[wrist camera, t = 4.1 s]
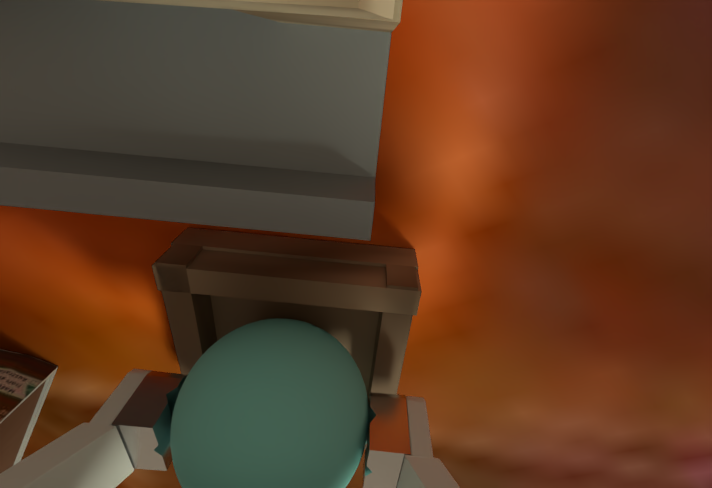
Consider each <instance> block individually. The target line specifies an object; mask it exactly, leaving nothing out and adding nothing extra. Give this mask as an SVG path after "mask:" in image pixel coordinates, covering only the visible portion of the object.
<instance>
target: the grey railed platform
mask: <svg viewBox="0 0 712 488" xmlns="http://www.w3.org/2000/svg"><path fill="white" fill-rule="evenodd" d="M390 41H391V32H380V31H369V30H358V29H347V28H336V27H325V26H314V25H303V24H292V23H281V22H277V21H273V20H269V19H265V18H262V17H258V16H254V15H250V14H247V13H243V12H239V11H235V10H231V9H220V8H205V7H190V6H175V5H160V4H145V3H130V2H115V1H100V0H0V205H3V206H14V207H24V208H35V209H45V210H56V211H66V212H77V213H87V214H97V215H108V216H118V217H129V218H139V219H150V220H160V221H171V222H181V223H191V224H202V225H212V226H223V227H233V228H244V229H254V230H264V231H275V232H285V233H296V234H306V235H317V236H327V237H338V238H348V239H358V240H369V241H371V232H372V224H373V215H374V206H375V176H376V167H377V158H378V149H379V140H380V131H381V122H382V113H383V104H384V95H385V86H386V77H387V68H388V59H389V50H390Z"/></svg>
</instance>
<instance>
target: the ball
mask: <svg viewBox="0 0 712 488" xmlns="http://www.w3.org/2000/svg"><path fill="white" fill-rule="evenodd" d="M368 423H369V404H368V397H367V392H366V387H365V384H364V381H363V378H362V375H361V373H360V370H359V368H358V366H357V364H356V363H355V361H354V359H353V358H352V356H351V355H350V353H349V352H348V351H347V349H346V348H345V347H344V346H343V345H342V344H341V343H340V342H339V341H338V340H337V339H336V338H334V337H333V336H332V335H331V334H329V333H328V332H326V331H324V330H323V329H321V328H319V327H317V326H315V325H312V324H310V323H307V322H303V321H299V320H294V319H283V318H274V319H265V320H260V321H256V322H253V323H249V324H246V325H244V326H241V327H239V328H237V329H235V330H233V331H231V332H230V333H228V334H226V335H225V336H223V337H222V338H221V339H219V340H218V341H217V342H215V343H214V344H213V345H212V346H211V347H210V348H208V349H207V351H206V352H205V353H204V354H203V355H202V356H201V357H200V358H199V359H198V361H197V362H196V363H195V365H194V366H193V367H192V369H191V370H190V372H189V373H188V375H187V377H186V379H185V381H184V383H183V385H182V387H181V389H180V391H179V394H178V397H177V400H176V403H175V406H174V410H173V415H172V421H171V433H170V447H171V454H172V460H173V465H174V468H175V472H176V475H177V478H178V480H179V482H180V484H181V486H182V488H345V487H346V486H347V485H348V483H349V482H350V480H351V478H352V476H353V475H354V473H355V471H356V469H357V467H358V465H359V462H360V460H361V457H362V455H363V451H364V448H365V444H366V439H367V435H368Z"/></svg>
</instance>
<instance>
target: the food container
mask: <svg viewBox="0 0 712 488" xmlns="http://www.w3.org/2000/svg"><path fill="white" fill-rule="evenodd" d="M57 368H58V366H56V365H53V364H51V363H48V362H45V361H43V360H40V359H37V358H35V357H32V356H30V355H26V354H21V353H16V352H12V351H7V350H2V349H0V473H2V472H4V471H5V470H7V469H9V468H10V467H12V466H14V465H15V464H17V463H18V462H20V461H21V458H22V456H23V453H24V451H25V448H26V446H27V443H28V441H29V438H30V436H31V433H32V431H33V428H34V426H35V423H36V421H37V418H38V416H39V413H40V411H41V408H42V406H43V403H44V401H45V398H46V396H47V393H48V391H49V388H50V386H51V383H52V381H53V378H54V376H55V373H56V371H57Z"/></svg>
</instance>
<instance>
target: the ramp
mask: <svg viewBox="0 0 712 488" xmlns="http://www.w3.org/2000/svg"><path fill="white" fill-rule="evenodd" d="M100 1H115V2H130V3H145V4H160V5H175V6H190V7H205V8H220V9H231V10H235V11H239V12H243V13H247V14H250V15H254V16H258V17H262V18H265V19H269V20H273V21H277V22H281V23H292V24H303V25H314V26H325V27H336V28H347V29H358V30H369V31H380V32H392V31H393V30H394V29H395V28H396V27H397V25H398V24H399V23H400V19H401V11H402V2H403V0H100Z"/></svg>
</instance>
